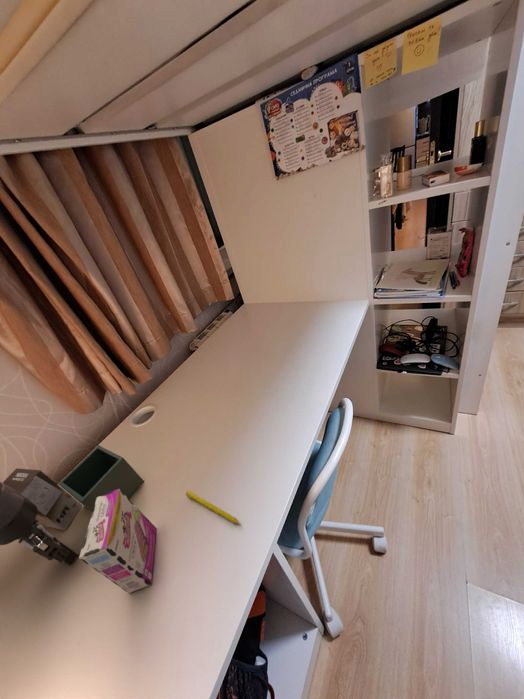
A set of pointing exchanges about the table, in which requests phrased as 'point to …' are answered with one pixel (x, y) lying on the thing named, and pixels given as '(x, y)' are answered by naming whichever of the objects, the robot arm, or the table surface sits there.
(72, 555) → the ink cartridge
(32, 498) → the coffee box
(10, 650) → the table surface
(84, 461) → the box
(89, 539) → the candy bar box
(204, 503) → the pencil
